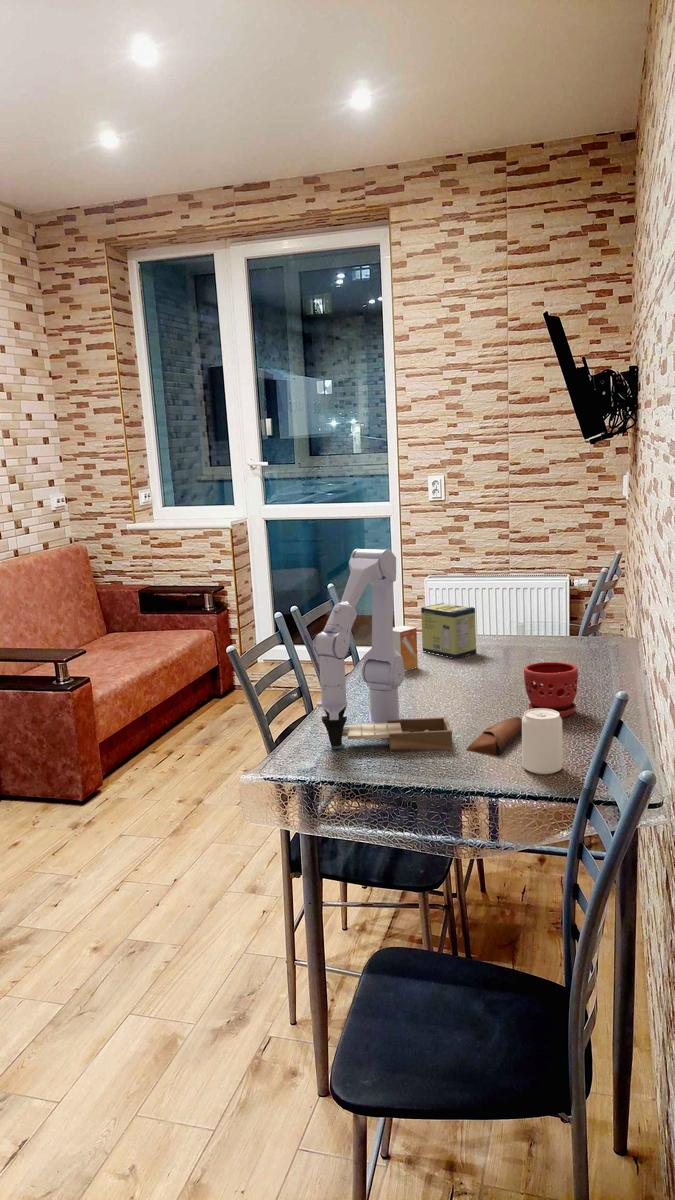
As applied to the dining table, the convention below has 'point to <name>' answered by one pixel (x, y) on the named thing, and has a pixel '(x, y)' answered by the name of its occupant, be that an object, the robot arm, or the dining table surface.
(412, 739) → the brown wooden flat box
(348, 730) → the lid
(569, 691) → the plant pot
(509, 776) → the dining table surface
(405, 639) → the small box
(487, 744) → the sunglasses case
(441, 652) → the protein box
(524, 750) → the beverage can
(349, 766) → the dining table surface
